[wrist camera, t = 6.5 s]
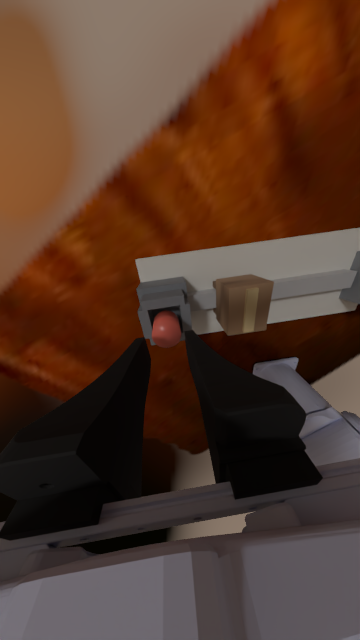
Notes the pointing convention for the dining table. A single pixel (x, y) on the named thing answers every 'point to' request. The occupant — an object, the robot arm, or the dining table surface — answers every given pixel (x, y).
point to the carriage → (242, 303)
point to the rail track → (260, 260)
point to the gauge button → (166, 329)
